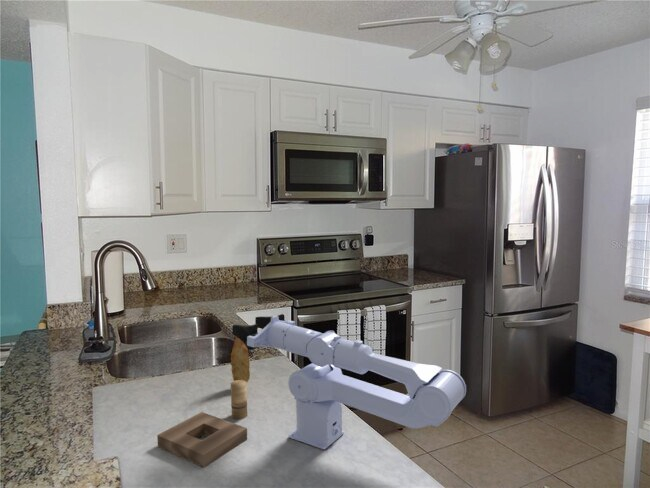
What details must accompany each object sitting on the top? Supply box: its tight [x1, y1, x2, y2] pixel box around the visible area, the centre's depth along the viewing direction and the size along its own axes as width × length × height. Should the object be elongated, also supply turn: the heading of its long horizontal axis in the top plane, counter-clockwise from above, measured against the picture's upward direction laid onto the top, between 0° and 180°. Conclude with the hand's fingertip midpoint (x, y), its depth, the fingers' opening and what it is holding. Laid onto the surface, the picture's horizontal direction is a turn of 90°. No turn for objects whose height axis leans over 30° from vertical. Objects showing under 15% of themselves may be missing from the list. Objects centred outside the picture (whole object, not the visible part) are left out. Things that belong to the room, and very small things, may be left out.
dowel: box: [230, 380, 248, 420], centre depth 107 cm, size 4×4×8 cm
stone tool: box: [230, 337, 251, 384], centre depth 123 cm, size 5×2×15 cm, turn 93°
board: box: [156, 411, 248, 468], centre depth 95 cm, size 14×12×2 cm
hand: (245, 325), depth 107 cm, fingers open, 7 cm apart
